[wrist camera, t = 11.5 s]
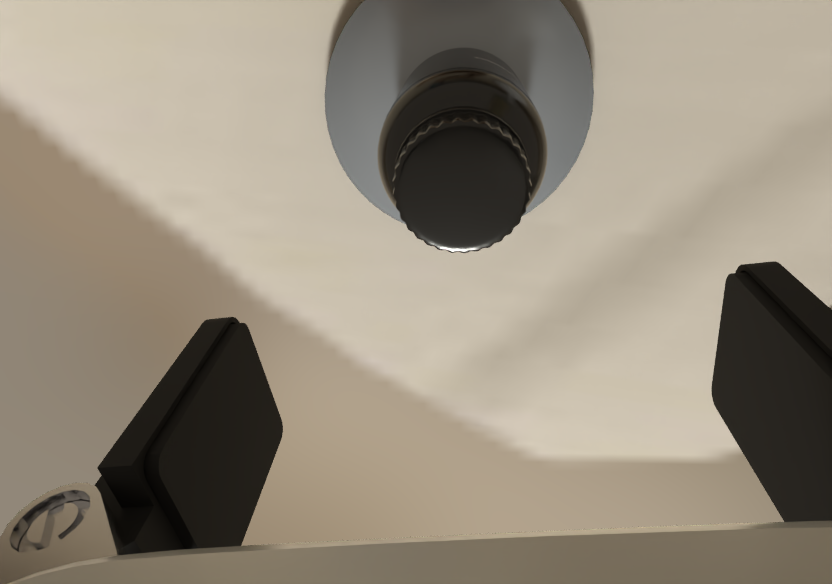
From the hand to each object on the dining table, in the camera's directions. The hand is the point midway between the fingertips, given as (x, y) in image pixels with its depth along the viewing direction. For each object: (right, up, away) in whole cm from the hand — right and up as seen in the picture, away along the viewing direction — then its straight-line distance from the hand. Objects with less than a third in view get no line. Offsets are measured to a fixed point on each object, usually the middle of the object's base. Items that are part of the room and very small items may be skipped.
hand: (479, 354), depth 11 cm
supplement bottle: (+1, +11, +18) cm, 21 cm away
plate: (+1, +11, +19) cm, 22 cm away
